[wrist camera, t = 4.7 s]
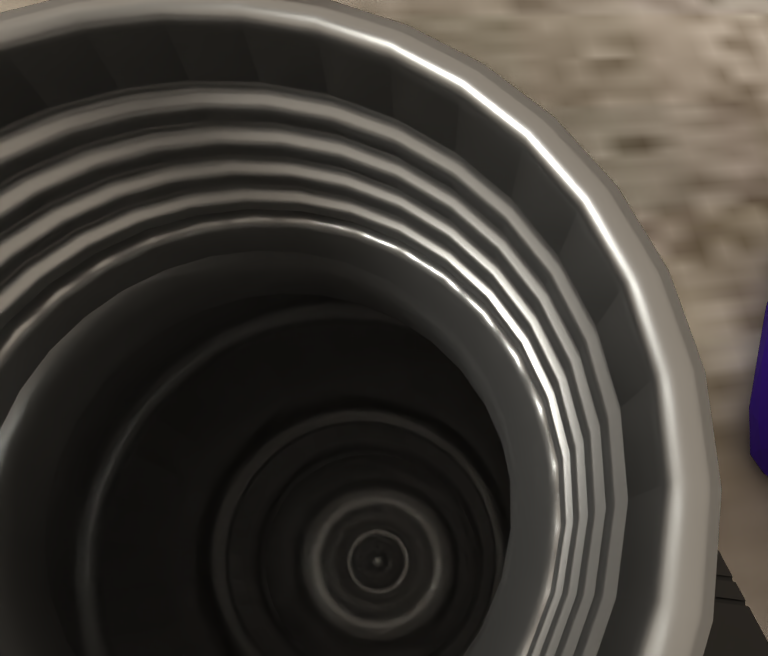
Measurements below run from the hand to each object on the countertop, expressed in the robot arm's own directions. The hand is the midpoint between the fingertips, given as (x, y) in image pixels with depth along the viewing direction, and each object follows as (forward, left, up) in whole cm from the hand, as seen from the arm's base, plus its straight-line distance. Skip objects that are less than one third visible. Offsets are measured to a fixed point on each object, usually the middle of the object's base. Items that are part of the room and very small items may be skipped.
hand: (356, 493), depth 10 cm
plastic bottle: (+1, 0, -11) cm, 11 cm away
